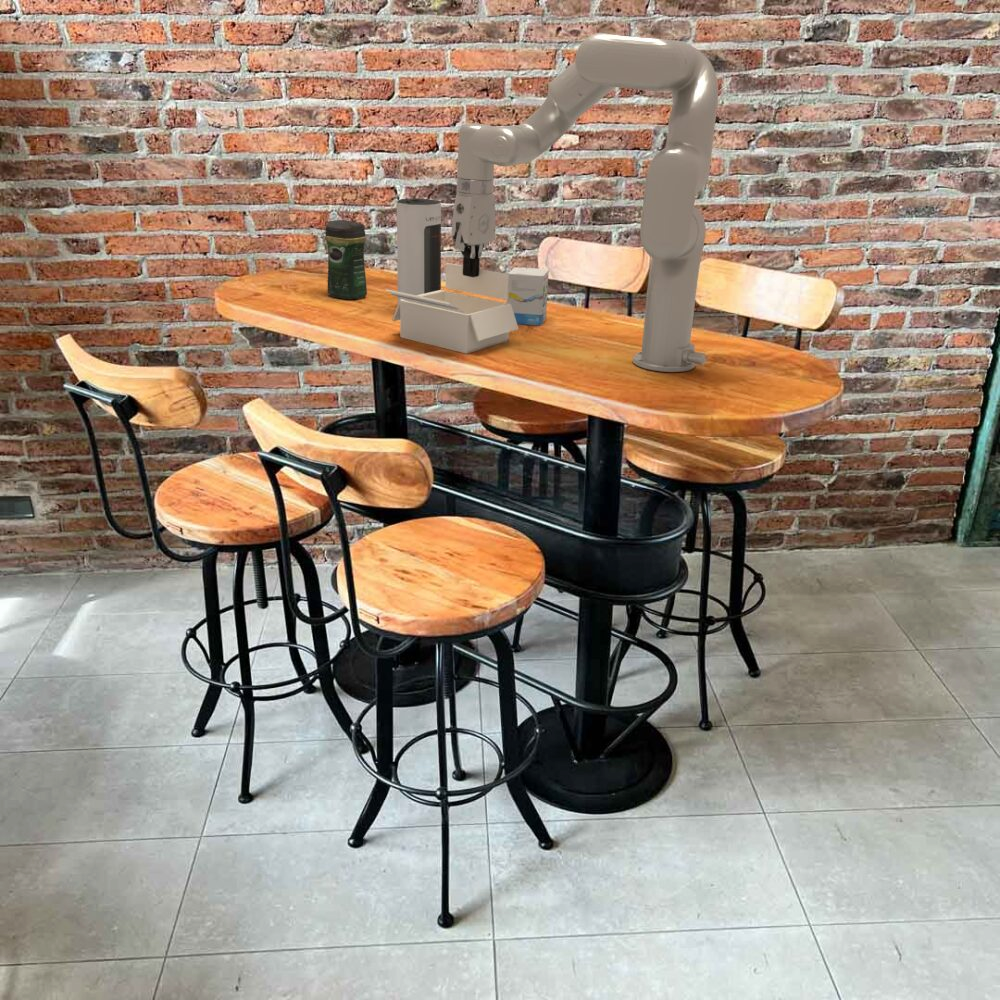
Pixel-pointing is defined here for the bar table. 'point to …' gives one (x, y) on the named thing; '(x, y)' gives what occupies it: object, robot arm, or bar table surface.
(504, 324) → the carton
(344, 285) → the coffee jar
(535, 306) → the ink box
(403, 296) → the front flap
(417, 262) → the speaker
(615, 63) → the robot arm
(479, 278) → the back flap
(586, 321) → the bar table surface
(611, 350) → the bar table surface
